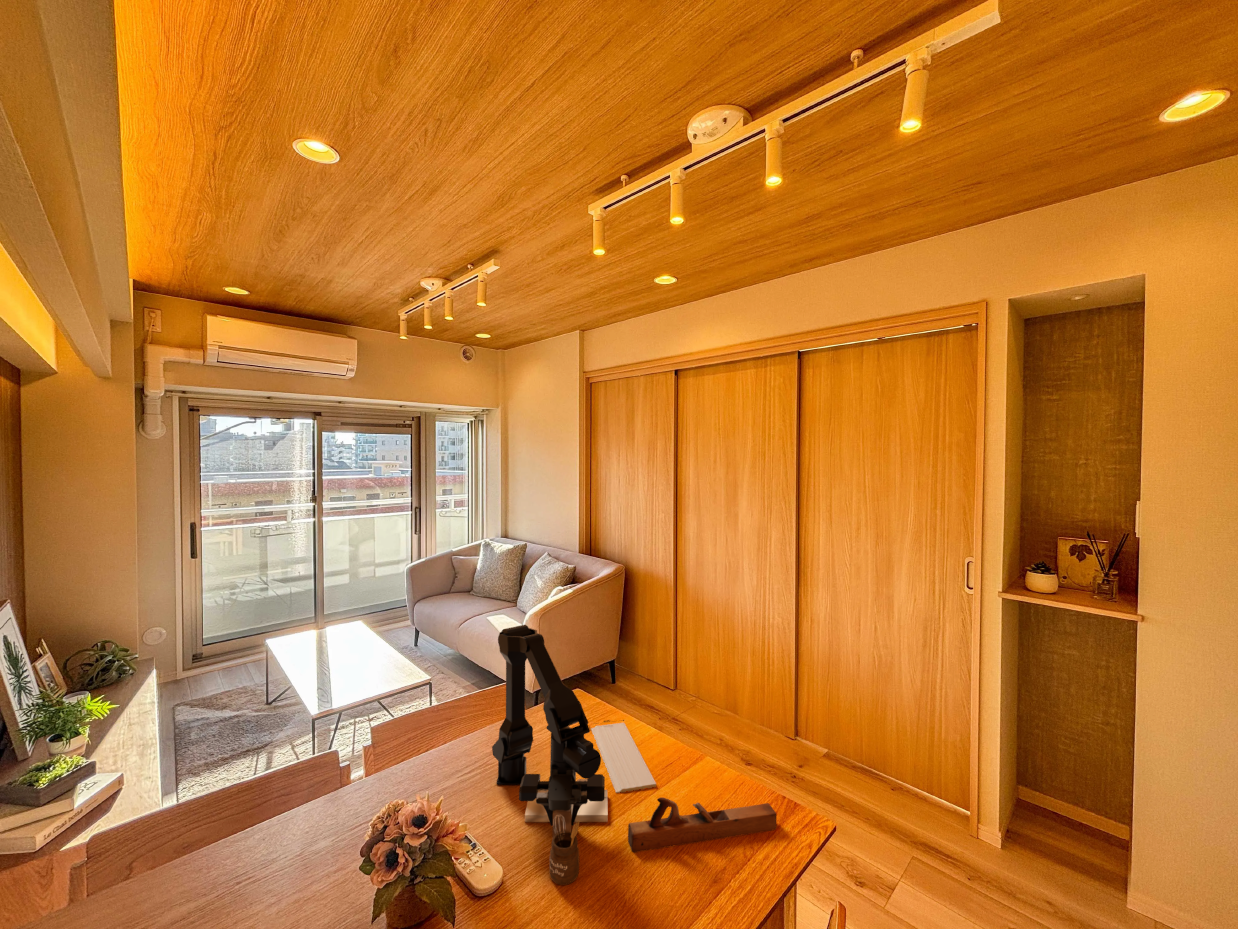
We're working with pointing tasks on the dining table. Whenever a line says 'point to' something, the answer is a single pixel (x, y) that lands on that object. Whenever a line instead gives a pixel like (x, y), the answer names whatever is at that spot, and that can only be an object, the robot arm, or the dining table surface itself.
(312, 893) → the dining table surface
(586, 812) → the board
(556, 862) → the utensil holder
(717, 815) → the hand plane
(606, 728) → the baseboard molding
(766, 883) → the dining table surface
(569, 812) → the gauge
